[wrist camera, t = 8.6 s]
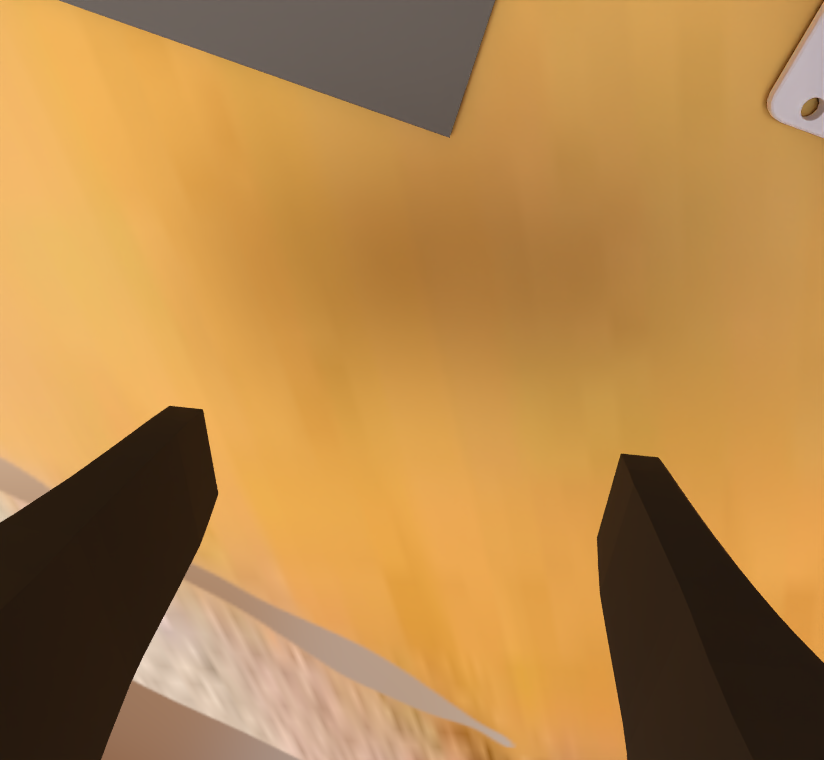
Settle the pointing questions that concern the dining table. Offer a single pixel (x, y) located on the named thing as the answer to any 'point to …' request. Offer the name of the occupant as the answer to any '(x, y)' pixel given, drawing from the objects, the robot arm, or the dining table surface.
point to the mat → (334, 45)
